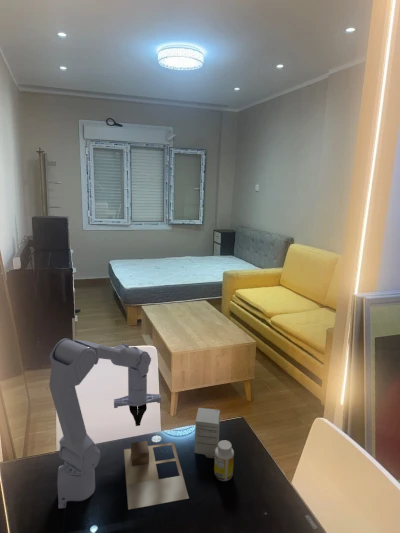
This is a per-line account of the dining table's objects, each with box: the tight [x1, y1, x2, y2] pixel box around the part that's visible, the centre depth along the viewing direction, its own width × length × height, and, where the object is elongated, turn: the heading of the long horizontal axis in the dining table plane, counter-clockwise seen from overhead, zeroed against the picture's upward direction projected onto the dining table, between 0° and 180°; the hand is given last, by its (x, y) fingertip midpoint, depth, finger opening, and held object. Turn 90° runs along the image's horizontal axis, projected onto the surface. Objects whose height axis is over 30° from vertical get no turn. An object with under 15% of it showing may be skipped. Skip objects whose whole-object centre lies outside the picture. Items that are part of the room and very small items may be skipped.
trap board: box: [123, 441, 190, 511], centre depth 105 cm, size 16×22×1 cm
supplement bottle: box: [213, 439, 235, 482], centre depth 105 cm, size 6×6×10 cm
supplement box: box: [194, 407, 221, 459], centre depth 115 cm, size 7×7×13 cm
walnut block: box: [130, 440, 149, 466], centre depth 109 cm, size 5×5×4 cm
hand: (137, 423), depth 115 cm, fingers closed
